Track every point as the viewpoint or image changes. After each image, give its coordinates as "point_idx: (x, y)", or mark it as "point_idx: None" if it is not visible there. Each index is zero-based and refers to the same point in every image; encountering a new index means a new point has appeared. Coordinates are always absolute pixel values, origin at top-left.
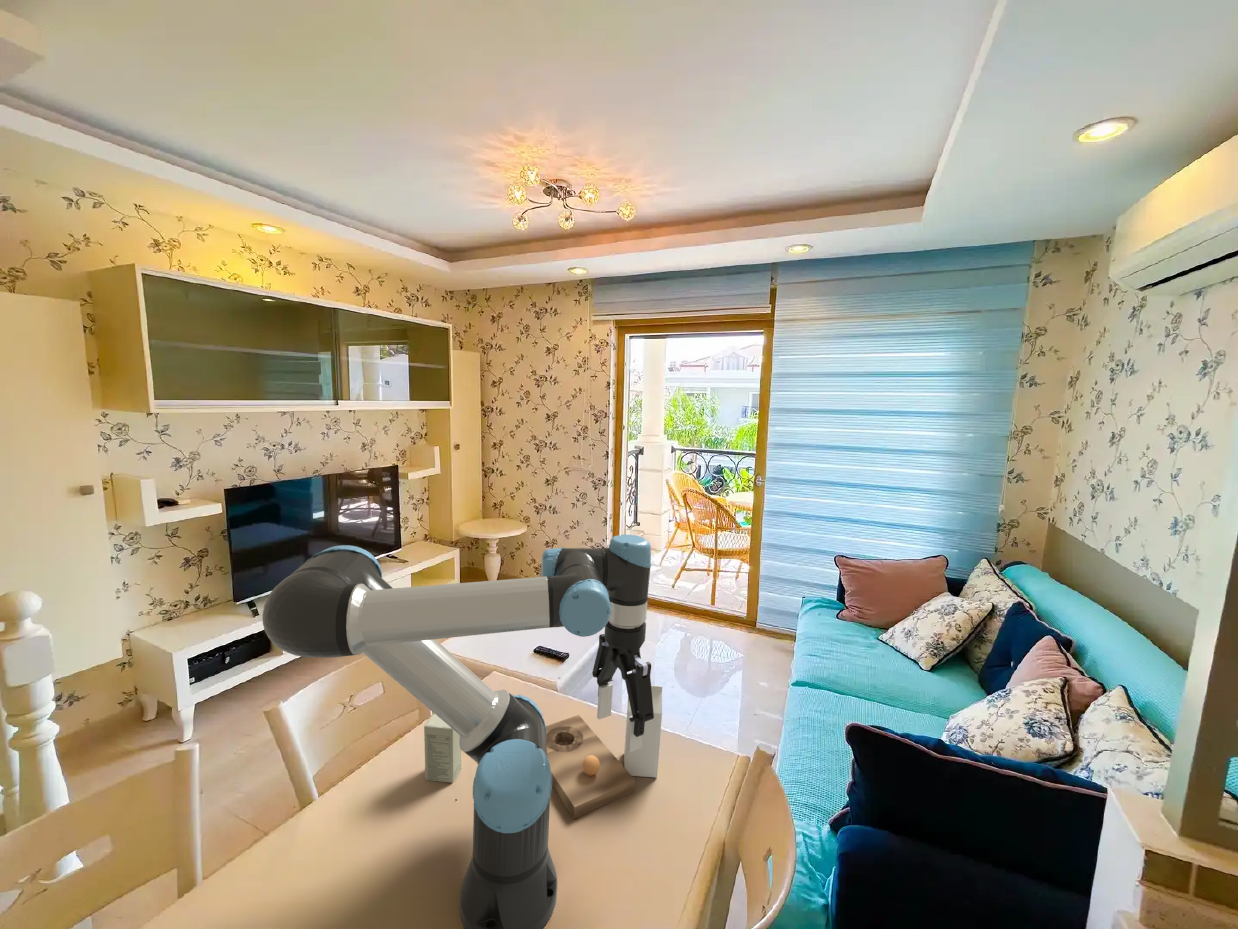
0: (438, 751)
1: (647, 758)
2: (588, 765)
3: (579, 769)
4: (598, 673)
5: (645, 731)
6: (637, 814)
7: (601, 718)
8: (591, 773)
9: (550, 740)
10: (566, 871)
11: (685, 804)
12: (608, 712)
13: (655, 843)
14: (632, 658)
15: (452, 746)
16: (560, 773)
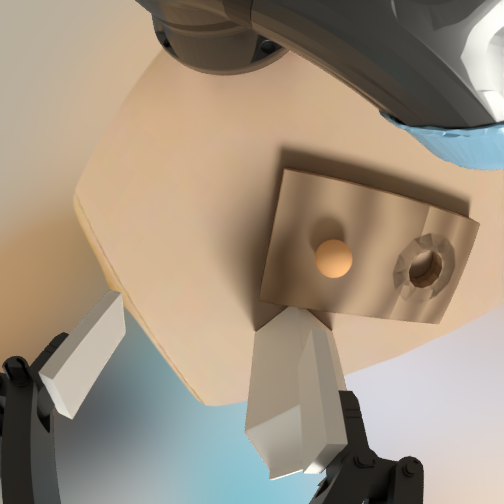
0: None
1: (266, 345)
2: (330, 249)
3: (353, 240)
4: (387, 487)
5: (271, 383)
6: (219, 260)
7: (309, 337)
8: (319, 246)
9: (441, 247)
10: (207, 96)
11: (190, 324)
12: (301, 370)
13: (161, 243)
14: None
15: None
16: (372, 205)
